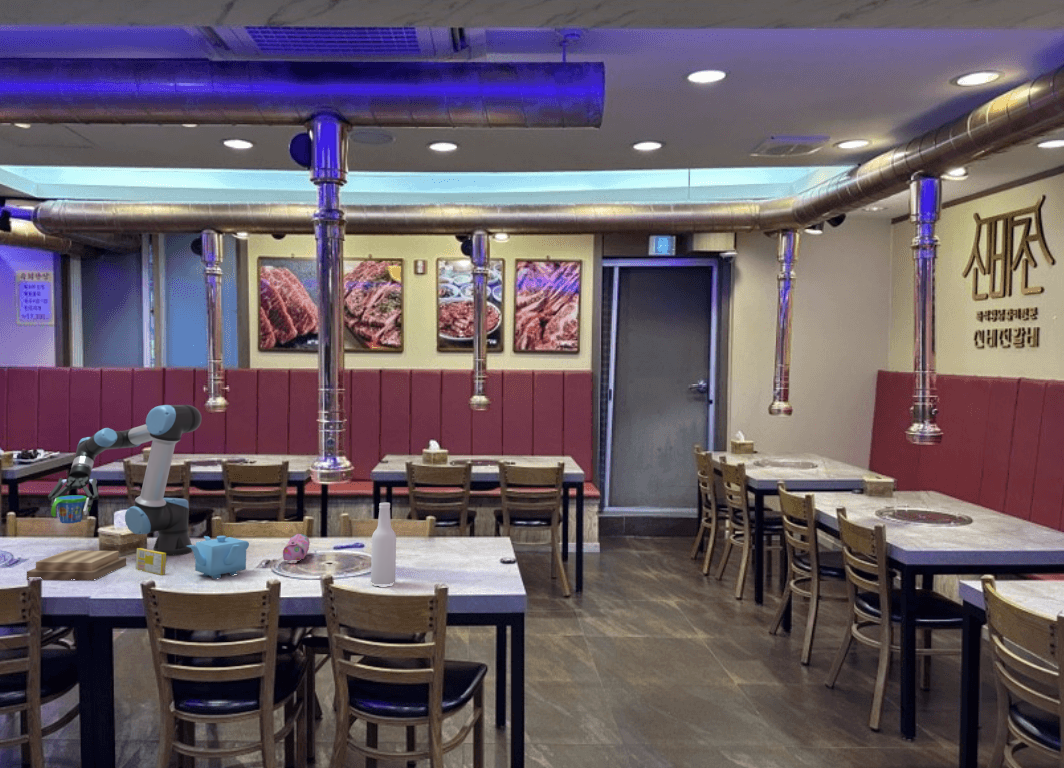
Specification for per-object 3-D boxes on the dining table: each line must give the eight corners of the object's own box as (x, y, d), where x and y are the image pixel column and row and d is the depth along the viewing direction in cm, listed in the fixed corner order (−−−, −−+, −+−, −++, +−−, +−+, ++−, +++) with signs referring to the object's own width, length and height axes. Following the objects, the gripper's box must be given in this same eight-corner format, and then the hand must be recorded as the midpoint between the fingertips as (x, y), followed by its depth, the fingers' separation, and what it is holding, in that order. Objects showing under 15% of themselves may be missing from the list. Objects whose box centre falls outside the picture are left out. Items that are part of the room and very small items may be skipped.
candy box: (166, 574, 293) (166, 552, 293) (160, 575, 291) (161, 553, 291) (140, 568, 301) (140, 547, 301) (135, 569, 299) (135, 548, 299)
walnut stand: (126, 565, 306) (126, 549, 306) (93, 580, 282) (94, 564, 282) (64, 564, 305) (64, 549, 305) (26, 579, 281) (26, 563, 281)
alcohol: (396, 581, 289) (398, 501, 289) (393, 587, 280) (395, 505, 280) (373, 581, 288) (374, 501, 288) (368, 587, 280) (370, 504, 280)
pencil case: (304, 564, 313) (304, 542, 313) (280, 565, 311) (281, 542, 311) (310, 553, 334) (311, 532, 334) (288, 553, 332) (289, 532, 332)
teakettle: (251, 569, 304) (252, 531, 304) (238, 581, 285) (239, 541, 285) (201, 569, 302) (202, 531, 302) (185, 581, 283) (186, 541, 283)
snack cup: (82, 517, 321) (82, 493, 320) (97, 520, 316) (98, 495, 315) (43, 523, 307) (43, 498, 307) (58, 527, 302) (59, 501, 302)
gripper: (113, 475, 329) (102, 517, 314) (52, 475, 323) (38, 519, 308) (110, 463, 324) (99, 507, 309) (48, 464, 318) (33, 508, 303)
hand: (69, 513), depth 309 cm, fingers closed on snack cup, 11 cm apart
